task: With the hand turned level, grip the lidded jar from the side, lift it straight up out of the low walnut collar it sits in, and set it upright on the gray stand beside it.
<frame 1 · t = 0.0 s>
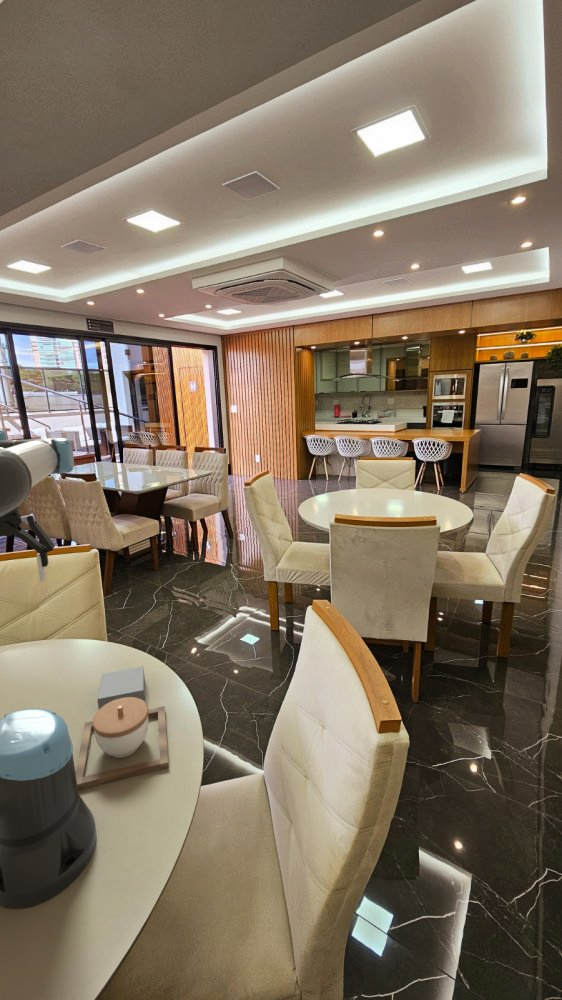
hand: (11, 583, 105), 28 cm above the table, tool pointing down, fingers open, 13 cm apart
gray stand: (123, 696, 106), on the table
walnut collar: (124, 746, 91), on the table
lidded jar: (124, 747, 91), resting in walnut collar
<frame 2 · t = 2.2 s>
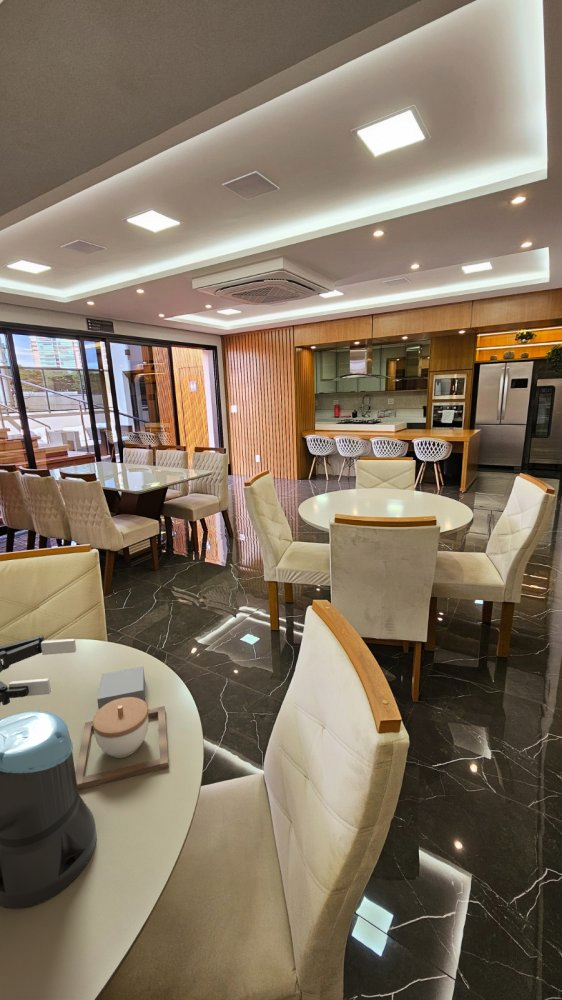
hand: (63, 664, 85), 20 cm above the table, tool horizontal, fingers open, 13 cm apart
nothing on the table moved.
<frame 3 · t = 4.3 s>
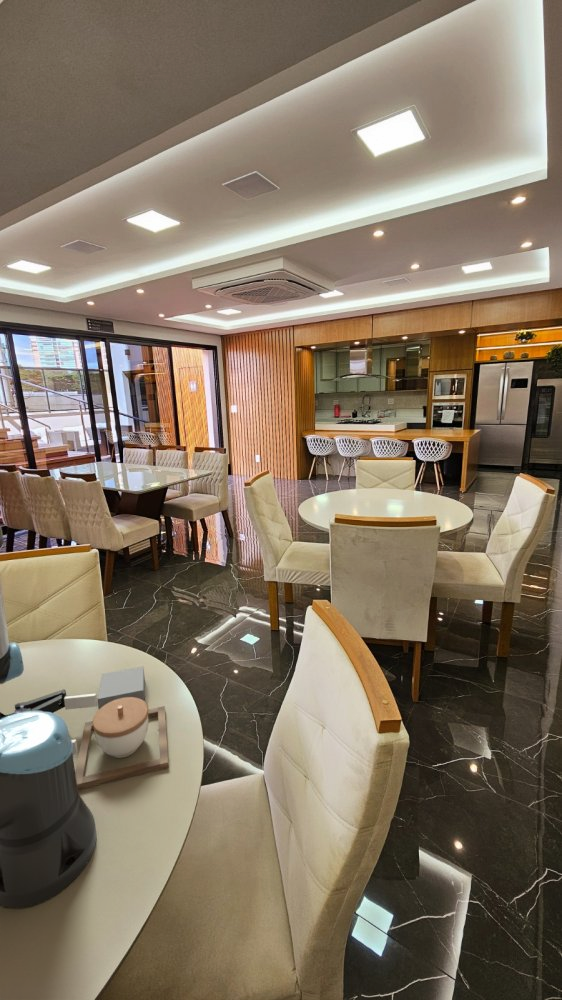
hand: (87, 721, 89), 6 cm above the table, tool horizontal, fingers open, 13 cm apart
nothing on the table moved.
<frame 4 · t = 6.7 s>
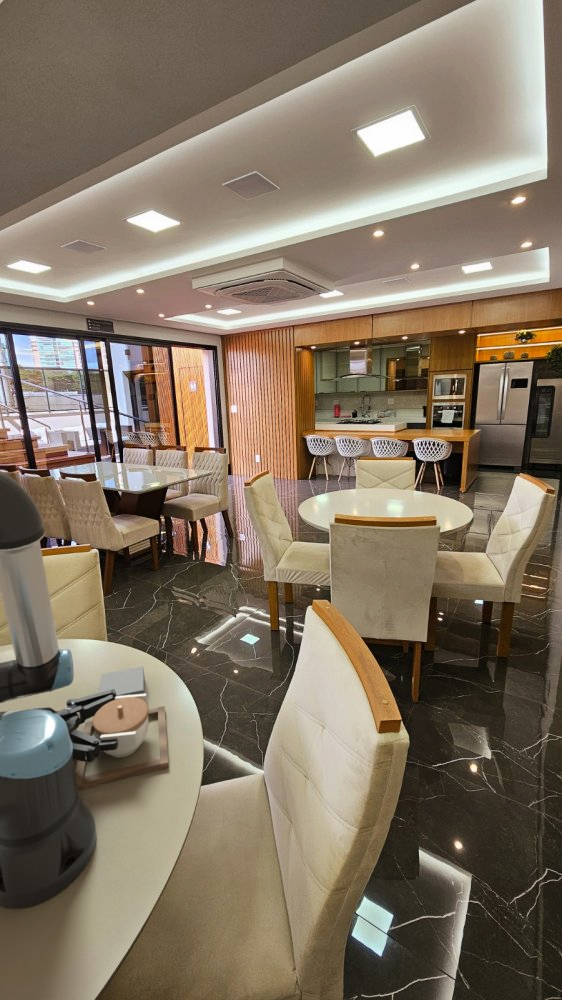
hand: (141, 718, 90), 6 cm above the table, tool horizontal, fingers closed on lidded jar, 11 cm apart
lidded jar: (124, 746, 91), resting in walnut collar, touching gripper
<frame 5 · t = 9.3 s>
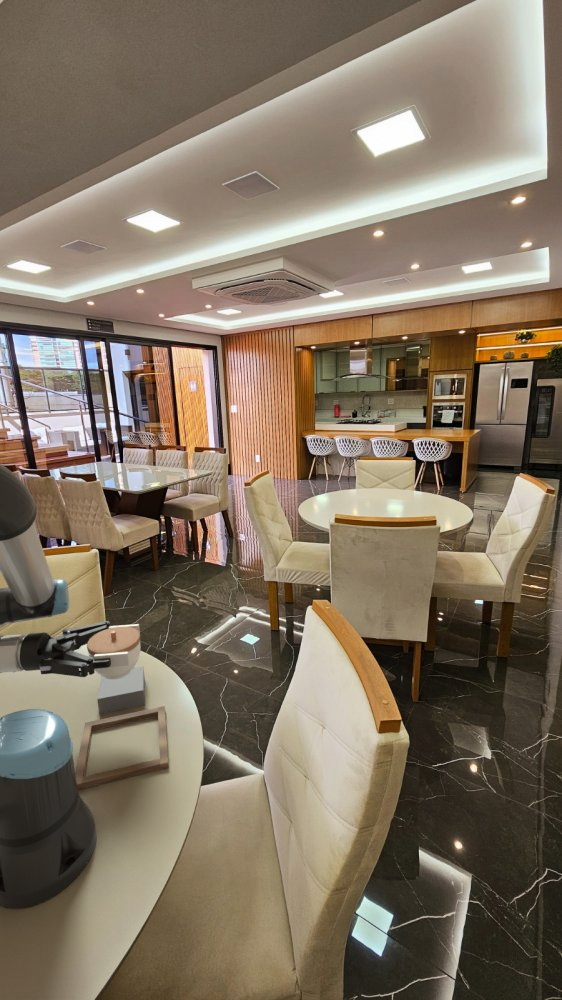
hand: (134, 643, 94), 19 cm above the table, tool horizontal, fingers closed on lidded jar, 11 cm apart
lidded jar: (117, 671, 95), point 12 cm above the table, touching gripper
when the fingers open (11 cm above the table, at t = 12.1 s): lidded jar drops 1 cm, resting on gray stand.
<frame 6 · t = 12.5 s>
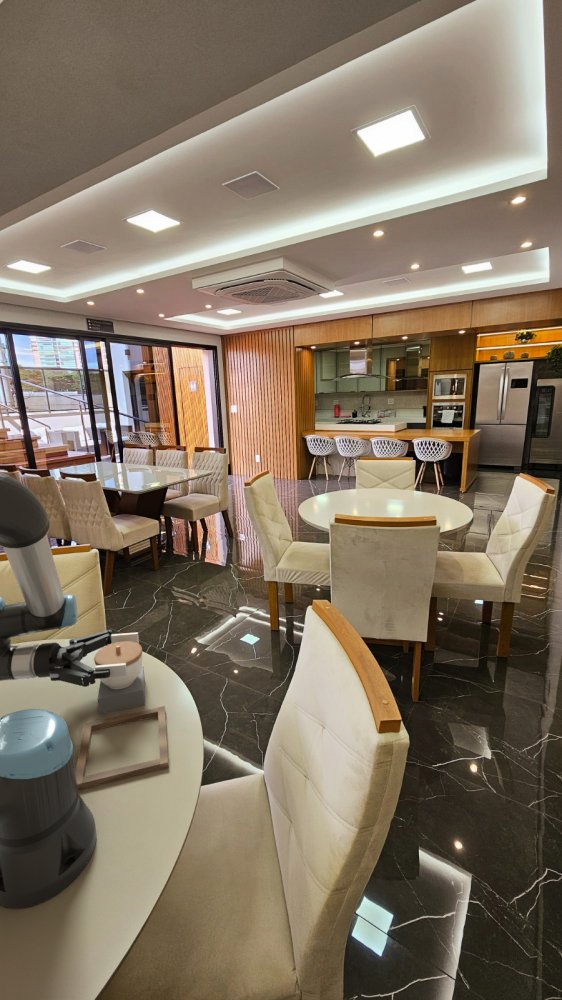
hand: (132, 652, 104), 11 cm above the table, tool horizontal, fingers open, 13 cm apart
lidded jar: (121, 682, 105), point 4 cm above the table, touching gray stand
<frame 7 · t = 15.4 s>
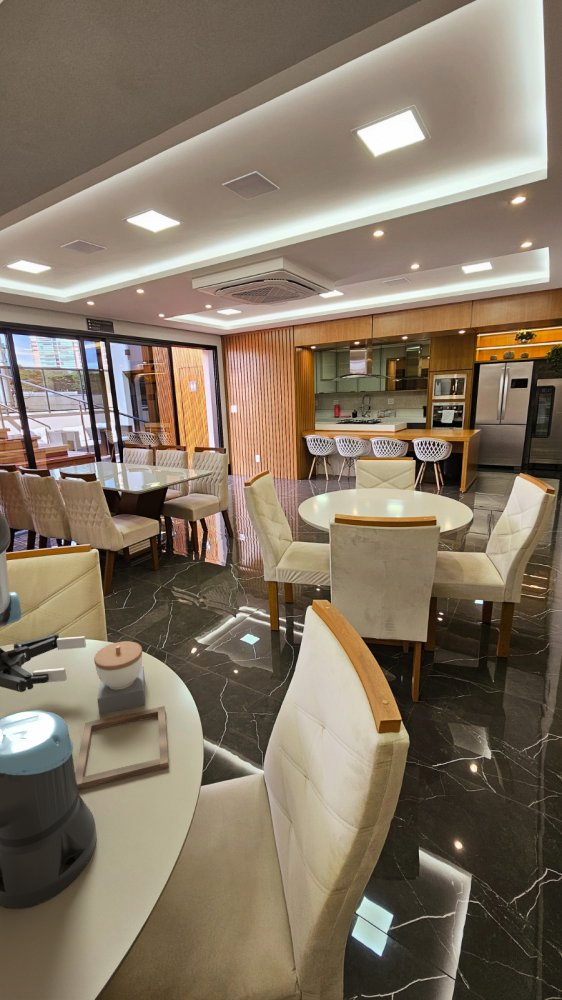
hand: (75, 657, 103), 12 cm above the table, tool horizontal, fingers open, 13 cm apart
nothing on the table moved.
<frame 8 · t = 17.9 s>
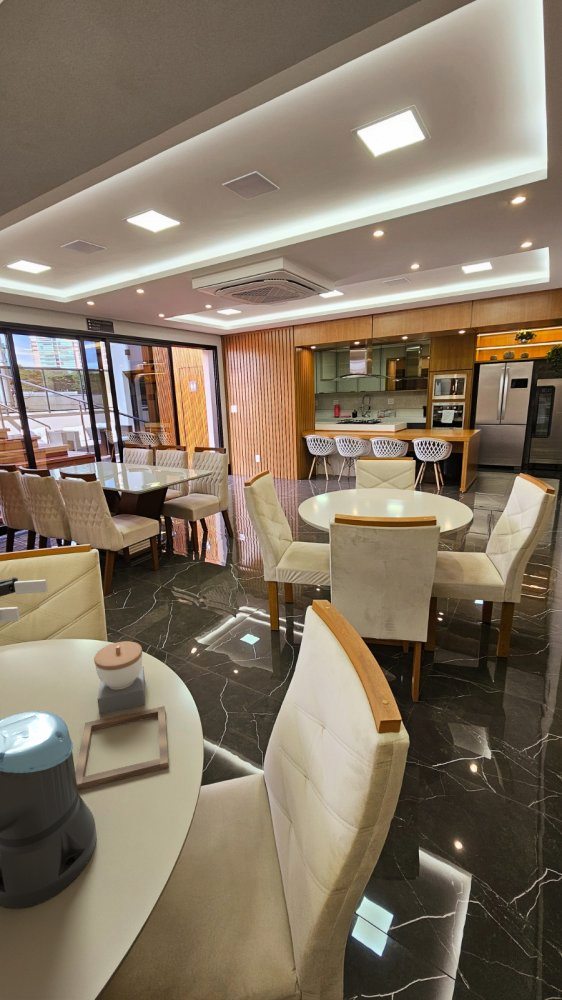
hand: (33, 598, 91), 30 cm above the table, tool horizontal, fingers open, 13 cm apart
nothing on the table moved.
at the end: lidded jar inside the target area on the gray stand (0.0 cm from its centre), point 3.8 cm above the gray stand's base; lidded jar tilted 0°; the gripper is holding nothing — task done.
